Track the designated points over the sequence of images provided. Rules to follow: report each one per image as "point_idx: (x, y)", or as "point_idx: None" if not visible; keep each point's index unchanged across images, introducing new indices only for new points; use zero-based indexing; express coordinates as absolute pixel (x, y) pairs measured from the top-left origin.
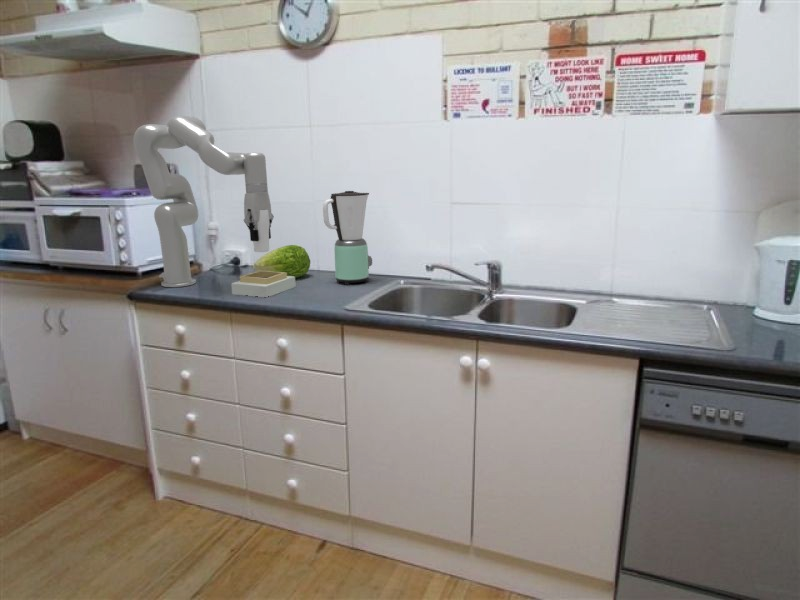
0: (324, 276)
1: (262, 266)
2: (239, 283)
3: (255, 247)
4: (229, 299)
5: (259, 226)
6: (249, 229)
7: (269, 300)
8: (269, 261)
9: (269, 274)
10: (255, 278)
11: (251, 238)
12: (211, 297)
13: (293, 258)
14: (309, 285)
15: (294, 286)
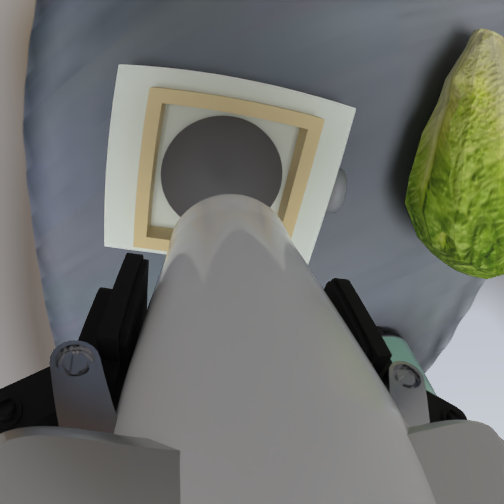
0: (440, 271)
1: (453, 78)
2: (122, 104)
3: (169, 242)
4: (58, 111)
5: None
6: (64, 354)
7: (90, 252)
8: (461, 120)
9: (291, 175)
10: (137, 186)
11: (100, 290)
12: (72, 26)
13: (442, 247)
14: (320, 282)
15: None
